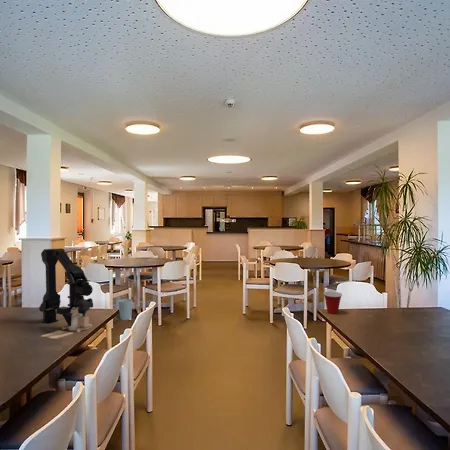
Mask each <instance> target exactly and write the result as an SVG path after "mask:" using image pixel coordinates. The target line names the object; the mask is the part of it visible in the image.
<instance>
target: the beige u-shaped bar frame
mask: <svg viewBox="0 0 450 450" xmlns="http://www.w3.org/2000/svg"><path fill="white" fill-rule="evenodd" d="M92 327H93V325H92V324H91V323H89V325H88V326H85V327H84V326H83V327H81V328H78V329H77V331H76V333H80V332H83V331H84V330H85V331H86V330H88V329H91V328H92ZM61 329H62V331H64V330H66V329H67V330H68V324H65V325H61Z"/></svg>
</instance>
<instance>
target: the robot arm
mask: <svg viewBox="0 0 450 450" xmlns="http://www.w3.org/2000/svg"><path fill="white" fill-rule="evenodd" d="M40 257H41V261H42V263H43V264H44V266H45V289H46V290H45V293H44V295H43V297H42V302H41V304H40V305H39V311H40V312H42V320H41V321H40V322H41V323H45V324H51V323H54V322H58V321H59V319H57V315H62V317H63V318H64V320H65V322H66V325H68V326H71V316H72V314H74V313H73V312H72V311H74V310H77V312H78V313H80V314H83V316H85V317H86V313H87V312H88V311H89V310H91V308H94V301H93V299H92V298H91V297H89V298H87V299H85V296H86V297H88V296H90V295H92V293H93V291H94V289H93V287H92V285H91V284H90V282H89V281H88V277H86V274H85V271H84V270H83V268H81V267H80V266H79V265H76V264H74V262H73V261H72V259H71V258H70V256H68V254H67V252H66V250H65V249H64V248H63V247H62V248H45V249H43V250H42V251H41V253H40ZM58 262H59V263H60V264H61V266H62V267H63V269H64V270H65V276H66V279H67V280H68V282H67V284H66V285H69V286H68V288H69V292H68V293H69V295H67V299H69V303H68V304H67V306H64V305H63V306H61V302H62V301H61V294H60V293H58V291H57V271H56V270H57V269H56V266H57V263H58Z"/></svg>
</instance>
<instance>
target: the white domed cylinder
mask: <svg viewBox="0 0 450 450" xmlns="http://www.w3.org/2000/svg"><path fill="white" fill-rule="evenodd" d="M89 324H90V317H89V316H86V315H85V316H83V314H80V313H73V314H72V316H71V326H68V328H67V330H68V332H74V331H75V332H77V329H78V328H81V327H83V326H84V327H85V326H88V325H89Z"/></svg>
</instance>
